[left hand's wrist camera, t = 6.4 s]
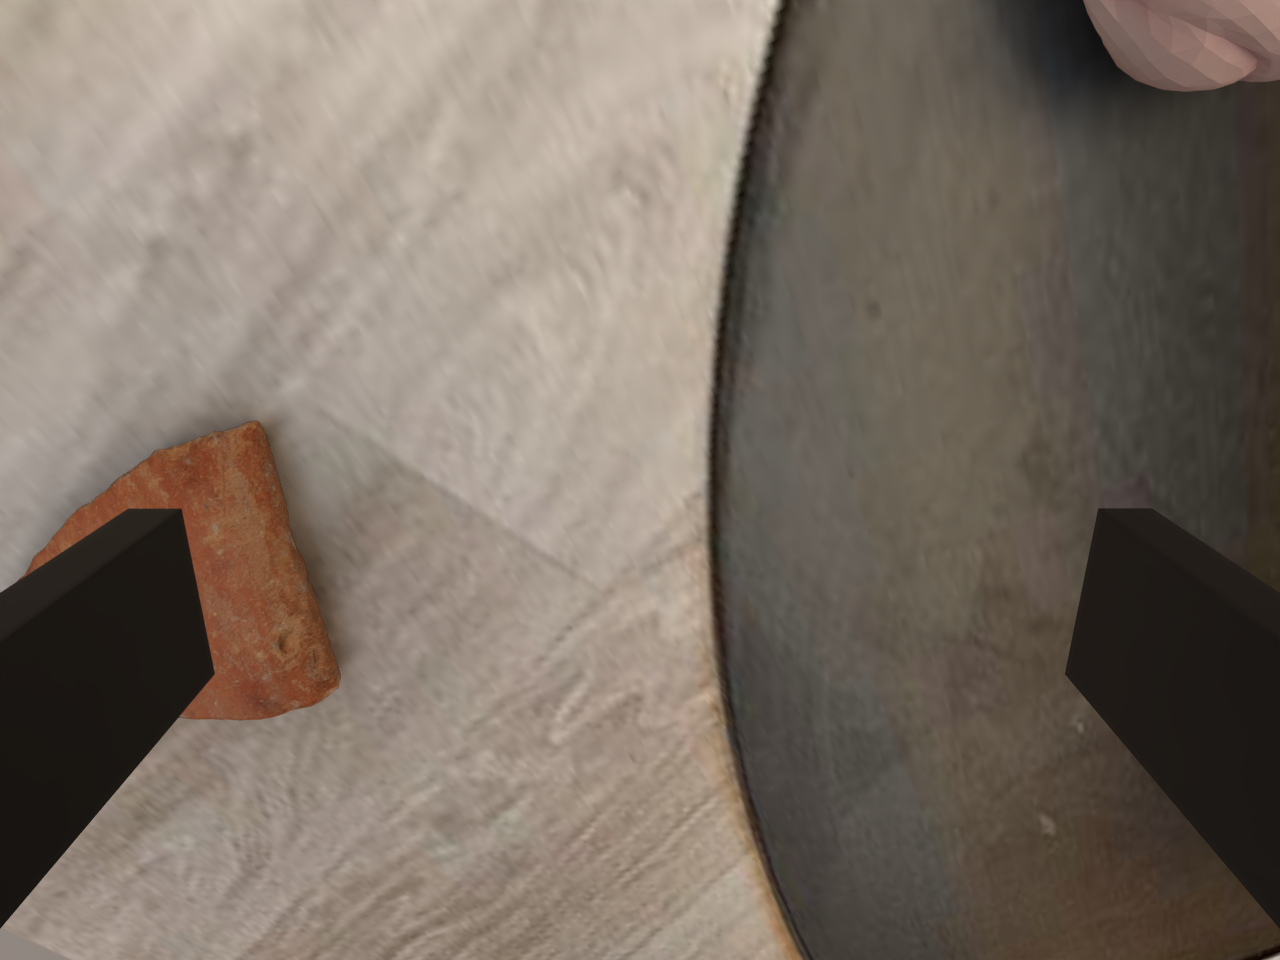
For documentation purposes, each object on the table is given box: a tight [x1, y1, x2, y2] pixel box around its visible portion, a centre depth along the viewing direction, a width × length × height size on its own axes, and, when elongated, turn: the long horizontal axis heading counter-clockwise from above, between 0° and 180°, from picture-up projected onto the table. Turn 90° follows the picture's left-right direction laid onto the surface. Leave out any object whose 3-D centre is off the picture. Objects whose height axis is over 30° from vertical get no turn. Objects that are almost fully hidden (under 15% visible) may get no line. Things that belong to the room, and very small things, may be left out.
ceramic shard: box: [17, 421, 341, 720], centre depth 41 cm, size 15×6×15 cm
